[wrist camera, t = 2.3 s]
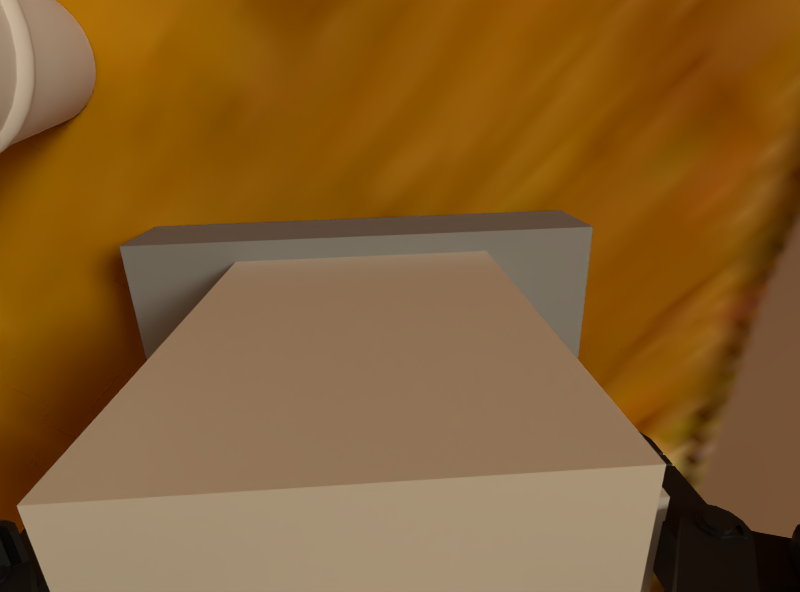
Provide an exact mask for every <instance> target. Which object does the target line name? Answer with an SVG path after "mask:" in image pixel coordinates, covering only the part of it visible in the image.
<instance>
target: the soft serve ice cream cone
mask: <svg viewBox="0 0 800 592" xmlns="http://www.w3.org/2000/svg"><path fill="white" fill-rule="evenodd" d="M95 69H96V68H95V62H94V56H93V52H92V49H91V46H90V44H89V41H88V39H87V37H86V35H85V33H84V31H83V30H82V28H81V26H80V25H79V24H78V22H77V21H76V20H75V19H74V17H73V16H72V15H71V14H70V13H69V12H68V11H67V10H66V9H65V8H64V7H63V6H62V5H61V4H59V3H58V2H57V1H55V0H0V153H1V152H3V151H4V150H5V149H6V148H8V146H10V145H12V144H15V143H17V142H19V141H21V140H24V139H26V138H28V137H31V136H33V135H35V134H37V133H40V132H42V131H44V130H47V129H49V128H51V127H53V126H56V125H58V124H60V123H63V122H65V121H67V120H69V119H72V118H73V117H74V116H76V115H77V114H78V113H80V112H81V111H82V109H83V108H84V107H85V106H86V104H87V103H88V101H89V99H90V97H91V95H92V93H93V89H94V84H95Z"/></svg>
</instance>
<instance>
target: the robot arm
mask: <svg viewBox="0 0 800 592" xmlns="http://www.w3.org/2000/svg"><path fill="white" fill-rule="evenodd" d="M639 433H640V434H641V435H642V436H643V437H644V439H645V440H646V441H647V442H648V443H649V444H650V446H651V447H652V448H653V449H654V450H655V452H656V453H657V454H658V455H659V456H660V458H661V459H662V460H663V461H664V462H665V463H666V468H665V473H664V478H663V483H662V488H661V492H660V497H659V502H658V507H657V512H656V517H655V522H654V527H653V532H652V537H651V542H650V547H649V552H648V557H647V562H646V567H645V572H644V576H643V581H642V586H641V591H640V592H650V589H651V584H652V579H653V574H654V573H655V575H656V576H657V578H658V580H659V581H660V583H661V584H662V586H663V588H664V592H800V524H799V525H797V527H796V529H795V530H794V532H793V536H792V538H787V537H781V536H775V535H770V534H764V533H759V532H755V531H751V530H750V529H749V528H748V526H747V525H746V524H745V523H744V522H743V521H742V520H741V519H739V518H738V517H736V516H735V515H734V514H732V513H731V512H729V511H726V510H724V509H721V508H719V507H717V506H713V505H708V504H707V503H706V502H705V501H704V500H703V499H702V498H701V496H700V495H699V494H698V493H697V492H696V491H695V489H694V488H693V487H692V486H691V485H690V484H689V483H688V481H687V480H686V479H685V478H684V477H683V476H682V474H681V473H680V472H679V471H678V470H677V469H676V467H675V466H672V463H671V462H670V460H669V459H668V458H667V457H666V456H665V455H663V452H662V451H661V450H660V449H659V448H658V447H657V445H656V444H655V443H654V442H653V441H652V440H651V439H650V438H649V437H647V436H645V435H644V434H642V433H641V432H639ZM0 592H50V590H49V588H48V585H47V583H46V580H45V578H44V575H43V572H42V570H41V567H40V565H39V562H38V560H37V557H36V555H35V552H34V549H33V547H32V544H31V542H30V539H29V537H28V534H27V531H26V529H24V530H23V531H22V533H21V534H19V532H18V529H17V527H16V525H15V523H13V522H10V521H7V520H1V521H0Z"/></svg>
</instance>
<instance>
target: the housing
mask: <svg viewBox="0 0 800 592" xmlns="http://www.w3.org/2000/svg"><path fill="white" fill-rule="evenodd" d="M665 468H666V463H665V462H664V461H663V460H662V459H661V458H660V456H659V455H658V454H657V453H656V452H655V450H654V449H653V448H652V447H651V446H650V444H649V443H648V442H647V441H646V440H645V439H644V437H643V436H642V435H641V434H640V433H639V431H638V430H637V429H636V428H635V427H634V426H633V424H632V423H631V422H630V421H629V420H628V418H627V417H626V416H625V415H624V414H623V412H622V411H621V410H620V409H619V408H618V407H617V405H616V404H615V403H614V402H613V401H612V399H611V398H610V397H609V396H608V395H607V394H606V392H605V391H604V390H603V389H602V388H601V386H600V385H599V384H598V383H597V382H596V380H595V379H594V378H593V377H592V376H591V375H590V373H589V372H588V371H587V370H586V369H585V367H584V366H583V365H582V364H581V363H580V362H579V360H578V359H577V358H576V357H575V356H574V354H573V353H572V352H571V351H570V350H569V348H568V347H567V346H566V345H565V344H564V343H563V341H562V340H561V339H560V338H559V337H558V335H557V334H556V333H555V332H554V331H553V330H552V328H551V327H550V326H549V325H548V324H547V322H546V321H545V320H544V319H543V318H542V317H541V315H540V314H539V313H538V312H537V311H536V309H535V308H534V307H533V306H532V305H531V303H530V302H529V301H528V300H527V299H526V298H525V296H524V295H523V294H522V293H521V292H520V290H519V289H518V288H517V287H516V286H515V285H514V283H513V282H512V281H511V280H510V279H509V277H508V276H507V275H506V274H505V273H504V271H503V270H502V269H501V268H500V267H499V266H498V264H497V263H496V262H495V261H494V260H493V258H492V257H491V256H490V255H489V254H488V253H487V251H476V252H453V253H430V254H407V255H384V256H360V257H337V258H314V259H291V260H268V261H245V262H235V263H234V264H233V265H232V267H231V268H230V269H229V270H228V271H227V272H226V273H225V274H224V275H223V277H222V278H221V279H220V280H219V281H218V282H217V283H216V284H215V285H214V287H213V288H212V289H211V290H210V291H209V292H208V293H207V294H206V295H205V297H204V298H203V299H202V300H201V301H200V302H199V303H198V304H197V305H196V307H195V308H194V309H193V310H192V311H191V312H190V313H189V314H188V316H187V317H186V318H185V319H184V320H183V321H182V322H181V323H180V324H179V326H178V327H177V328H176V329H175V330H174V331H173V332H172V333H171V334H170V336H169V337H168V338H167V339H166V340H165V341H164V342H163V343H162V344H161V346H160V347H159V348H158V349H157V350H156V351H155V352H154V353H153V355H152V356H151V357H150V358H149V359H148V360H147V361H146V362H145V363H144V365H143V366H142V367H141V368H140V369H139V370H138V371H137V372H136V373H135V375H134V376H133V377H132V378H131V379H130V380H129V381H128V382H127V383H126V385H125V386H124V387H123V388H122V389H121V390H120V391H119V392H118V393H117V395H116V396H115V397H114V398H113V399H112V400H111V401H110V402H109V404H108V405H107V406H106V407H105V408H104V409H103V410H102V411H101V412H100V414H99V415H98V416H97V417H96V418H95V419H94V420H93V421H92V422H91V424H90V425H89V426H88V427H87V428H86V429H85V430H84V431H83V432H82V434H81V435H80V436H79V437H78V438H77V439H76V440H75V441H74V442H73V444H72V445H71V446H70V447H69V448H68V449H67V450H66V451H65V453H64V454H63V455H62V456H61V457H60V458H59V459H58V460H57V461H56V463H55V464H54V465H53V466H52V467H51V468H50V469H49V470H48V471H47V473H46V474H45V475H44V476H43V477H42V478H41V479H40V480H39V481H38V483H37V484H36V485H35V486H34V487H33V488H32V489H31V490H30V491H29V493H28V494H27V495H26V496H25V497H24V498H23V499H22V500H21V502H20V503H19V504H18V505H17V508H18V511H19V514H20V516H21V519H22V521H23V524H24V526H25V529H26V531H27V534H28V537H29V539H30V542H31V544H32V547H33V549H34V552H35V555H36V557H37V560H38V562H39V565H40V567H41V570H42V572H43V575H44V578H45V580H46V583H47V585H48V588H49V590H50V592H640V591H641V586H642V581H643V576H644V572H645V567H646V562H647V557H648V552H649V547H650V542H651V537H652V532H653V527H654V522H655V517H656V512H657V507H658V502H659V497H660V492H661V488H662V483H663V478H664V473H665Z"/></svg>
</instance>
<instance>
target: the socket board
mask: <svg viewBox="0 0 800 592" xmlns="http://www.w3.org/2000/svg"><path fill="white" fill-rule="evenodd" d="M592 230H593V227H592V226H590V225H588V224H586V223H584V222H582V221H580V220H578V219H576V218H574V217H573V216H571V215H569V214H567V213H565V212H563V211H539V212H514V213H489V214H463V215H438V216H413V217H388V218H363V219H338V220H313V221H288V222H263V223H238V224H213V225H188V226H163V227H155V228H153V229H151V230H149V231H147V232H146V233H144V234H142V235H140V236H138V237H136V238H134V239H133V240H131V241H129V242H127V243H125V244H123V245H121V246H119V247H120V251H121V255H122V260H123V264H124V268H125V272H126V276H127V281H128V285H129V289H130V293H131V297H132V302H133V306H134V310H135V314H136V318H137V322H138V327H139V331H140V335H141V339H142V343H143V348H144V352H145V356H146V360H148V359H149V358H150V357H151V356H152V355H153V353H154V352H155V351H156V350H157V349H158V348H159V347H160V346H161V344H162V343H163V342H164V341H165V340H166V339H167V338H168V337H169V336H170V334H171V333H172V332H173V331H174V330H175V329H176V328H177V327H178V326H179V324H180V323H181V322H182V321H183V320H184V319H185V318H186V317H187V316H188V314H189V313H190V312H191V311H192V310H193V309H194V308H195V307H196V305H197V304H198V303H199V302H200V301H201V300H202V299H203V298H204V297H205V295H206V294H207V293H208V292H209V291H210V290H211V289H212V288H213V287H214V285H215V284H216V283H217V282H218V281H219V280H220V279H221V278H222V277H223V275H224V274H225V273H226V272H227V271H228V270H229V269H230V268H231V267H232V265H233V264H234V263H235V262H245V261H268V260H291V259H314V258H337V257H360V256H384V255H407V254H430V253H453V252H476V251H487V253H488V254H489V255H490V256H491V257H492V258H493V260H494V261H495V262H496V263H497V264H498V266H499V267H500V268H501V269H502V270H503V271H504V273H505V274H506V275H507V276H508V277H509V279H510V280H511V281H512V282H513V283H514V285H515V286H516V287H517V288H518V289H519V290H520V292H521V293H522V294H523V295H524V296H525V298H526V299H527V300H528V301H529V302H530V303H531V305H532V306H533V307H534V308H535V309H536V311H537V312H538V313H539V314H540V315H541V317H542V318H543V319H544V320H545V321H546V322H547V324H548V325H549V326H550V327H551V328H552V330H553V331H554V332H555V333H556V334H557V335H558V337H559V338H560V339H561V340H562V341H563V343H564V344H565V345H566V346H567V347H568V348H569V350H570V351H571V352H572V353H573V354H574V356H575V357H576V358H577V359H578V354H579V345H580V336H581V327H582V318H583V309H584V301H585V292H586V283H587V274H588V265H589V256H590V248H591V239H592Z"/></svg>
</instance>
